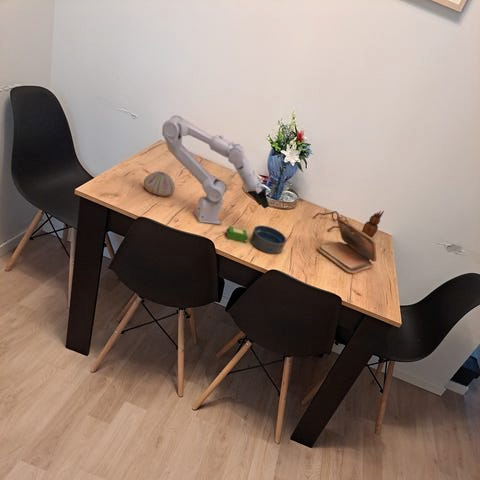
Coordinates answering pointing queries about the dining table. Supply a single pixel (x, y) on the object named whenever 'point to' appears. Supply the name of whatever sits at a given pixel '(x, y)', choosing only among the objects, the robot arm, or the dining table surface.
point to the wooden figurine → (372, 224)
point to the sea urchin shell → (159, 183)
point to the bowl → (268, 239)
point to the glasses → (332, 218)
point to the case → (351, 249)
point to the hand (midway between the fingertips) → (264, 205)
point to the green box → (236, 234)
